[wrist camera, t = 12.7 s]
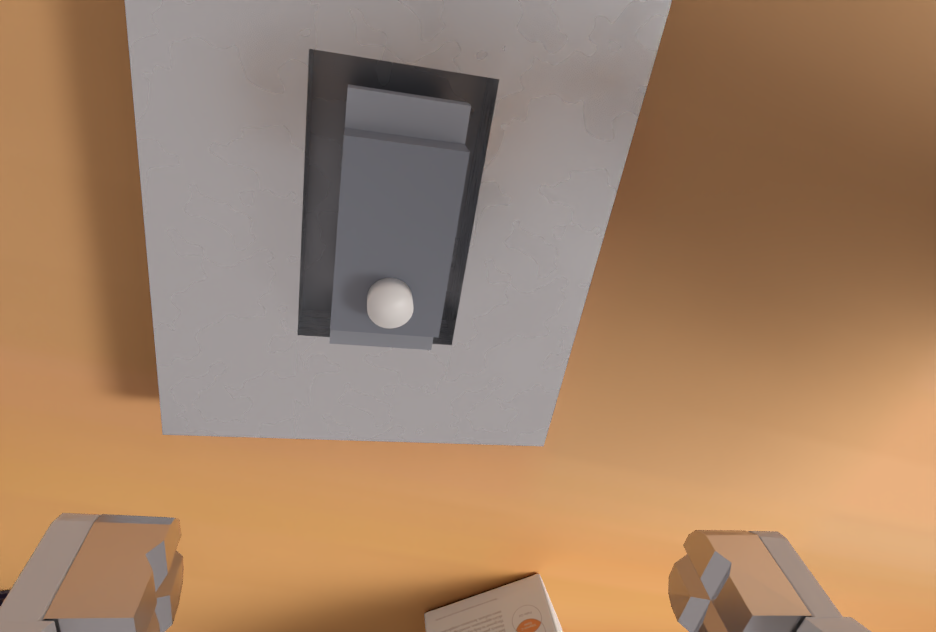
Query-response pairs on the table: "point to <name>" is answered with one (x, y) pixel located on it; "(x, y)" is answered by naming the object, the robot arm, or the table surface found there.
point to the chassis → (317, 203)
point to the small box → (499, 611)
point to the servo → (397, 216)
